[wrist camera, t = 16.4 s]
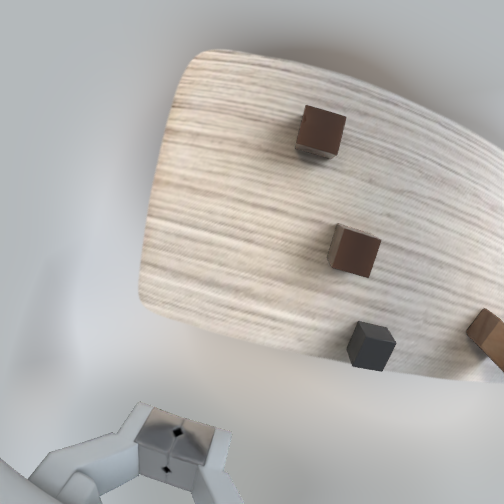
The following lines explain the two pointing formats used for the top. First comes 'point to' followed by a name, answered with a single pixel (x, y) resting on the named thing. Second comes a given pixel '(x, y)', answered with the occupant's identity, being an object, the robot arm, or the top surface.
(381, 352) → the cube
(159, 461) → the robot arm
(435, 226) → the top surface
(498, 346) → the wooden block
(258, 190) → the top surface
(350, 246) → the middle cube
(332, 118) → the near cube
